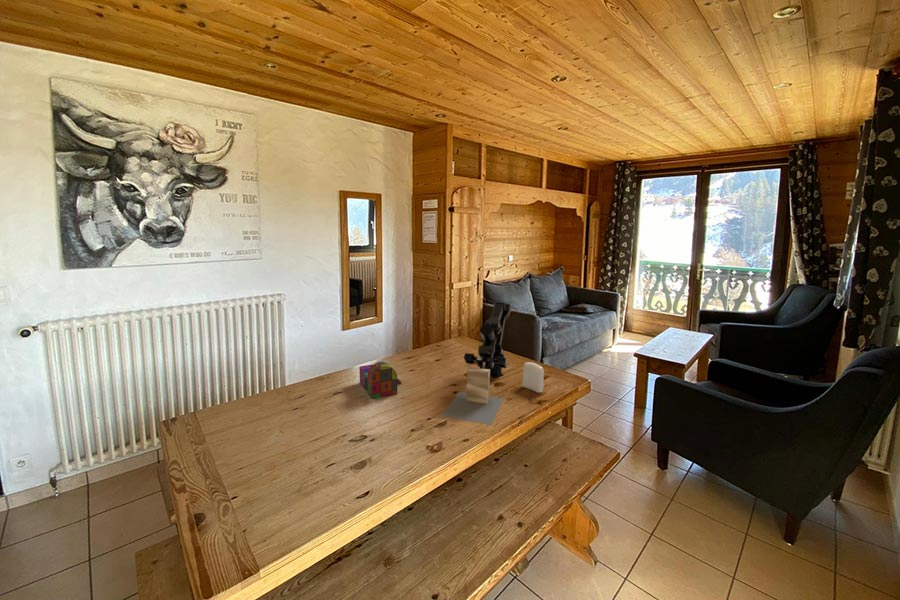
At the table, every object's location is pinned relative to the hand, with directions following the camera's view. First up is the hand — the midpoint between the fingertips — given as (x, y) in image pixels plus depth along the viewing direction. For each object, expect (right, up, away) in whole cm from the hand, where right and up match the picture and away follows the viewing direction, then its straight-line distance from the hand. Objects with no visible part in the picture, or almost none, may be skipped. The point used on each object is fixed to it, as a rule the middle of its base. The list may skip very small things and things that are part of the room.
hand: (481, 377), depth 176 cm
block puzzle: (-45, -6, +13) cm, 48 cm away
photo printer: (+24, -7, +10) cm, 27 cm away
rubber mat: (-4, -11, -10) cm, 15 cm away
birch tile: (-2, -9, -4) cm, 10 cm away
